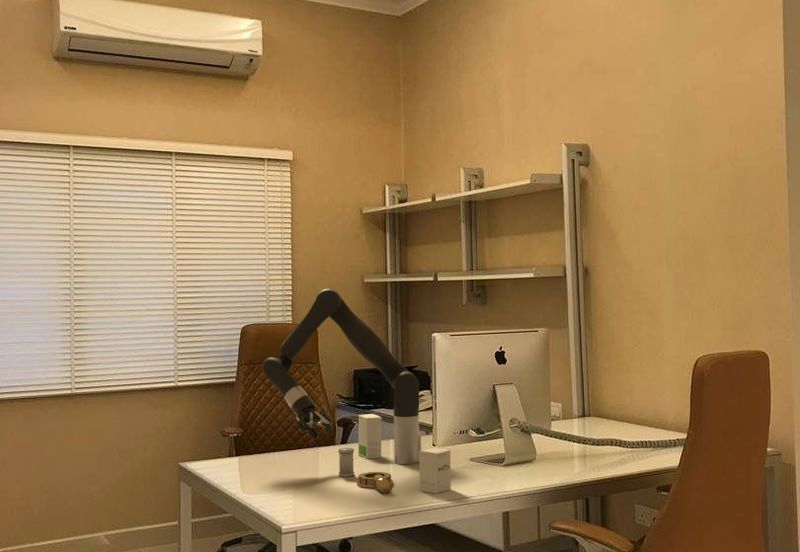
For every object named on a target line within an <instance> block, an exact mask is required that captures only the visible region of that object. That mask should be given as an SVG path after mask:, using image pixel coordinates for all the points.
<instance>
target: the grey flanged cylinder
mask: <svg viewBox="0 0 800 552" xmlns="http://www.w3.org/2000/svg"><path fill="white" fill-rule="evenodd" d="M337 452H338V459H339V460H338V461H339V463H338V464H339V466H338V467H339V471H338V477H340V478H351V477H355V471H354V452H355V448H352V447H341V448H338V451H337Z"/></svg>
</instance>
